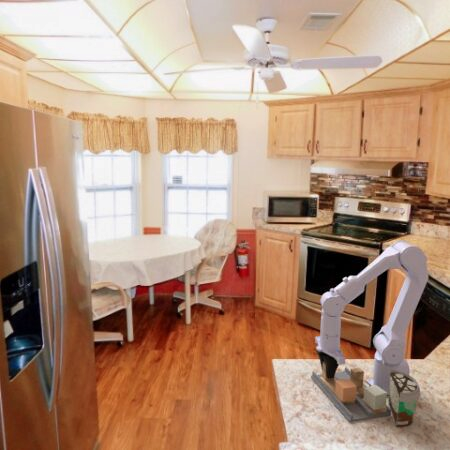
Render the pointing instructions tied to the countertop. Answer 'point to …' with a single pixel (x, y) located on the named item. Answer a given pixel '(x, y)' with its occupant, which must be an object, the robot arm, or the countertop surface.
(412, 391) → the food container
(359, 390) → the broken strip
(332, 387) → the oak strip
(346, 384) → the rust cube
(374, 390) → the sage block
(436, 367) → the countertop surface
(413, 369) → the countertop surface
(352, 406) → the lane board
